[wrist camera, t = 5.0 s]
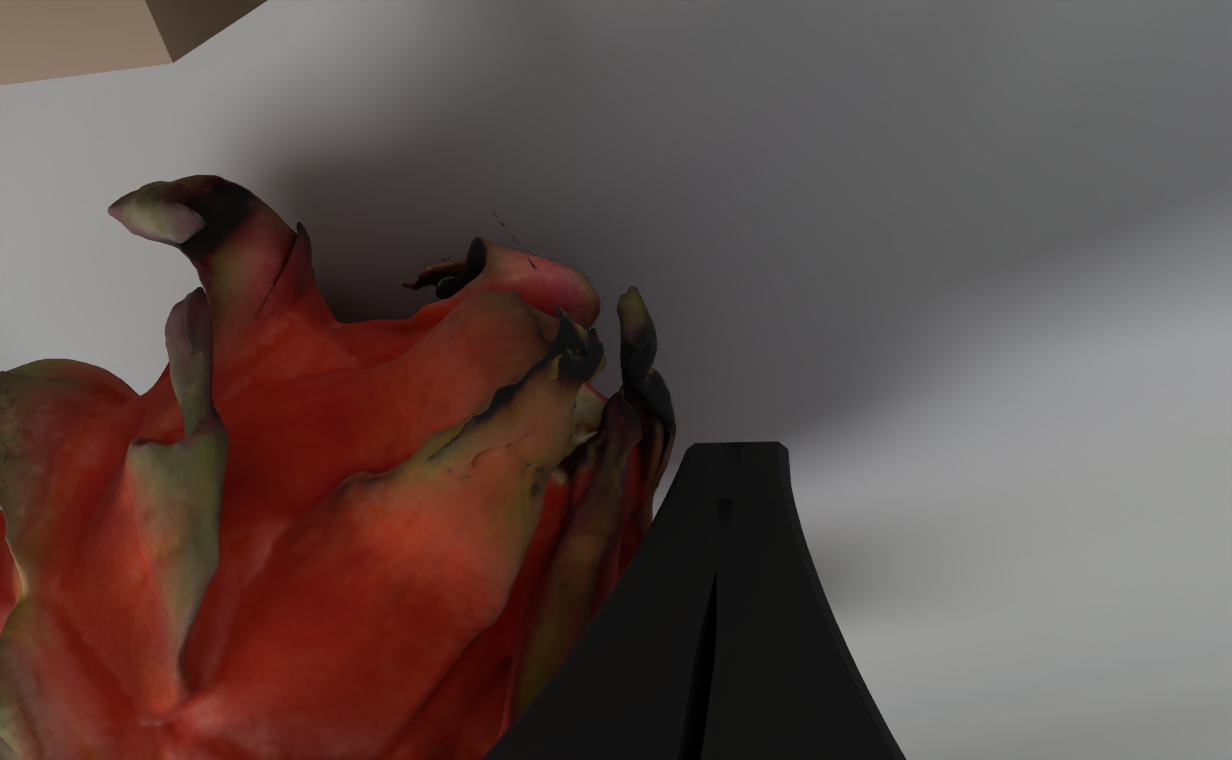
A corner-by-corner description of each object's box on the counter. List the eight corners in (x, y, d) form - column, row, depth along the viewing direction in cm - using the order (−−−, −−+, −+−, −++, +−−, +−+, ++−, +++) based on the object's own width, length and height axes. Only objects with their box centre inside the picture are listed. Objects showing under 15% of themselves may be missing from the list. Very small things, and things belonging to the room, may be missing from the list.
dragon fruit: (187, 464, 19) (641, 95, 15) (370, 855, 18) (939, 573, 13) (-381, 549, 12) (209, -165, 7) (-147, 1254, 10) (793, 901, 6)
